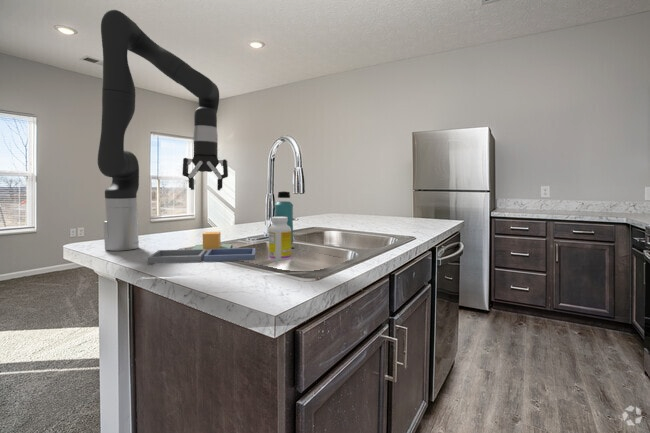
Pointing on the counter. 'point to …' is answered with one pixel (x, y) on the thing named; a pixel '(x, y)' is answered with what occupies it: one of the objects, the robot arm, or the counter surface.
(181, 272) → the counter surface
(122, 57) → the robot arm
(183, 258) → the grey tray
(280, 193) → the beverage bottle
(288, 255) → the supplement bottle
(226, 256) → the navy tray
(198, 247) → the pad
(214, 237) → the orange cube
